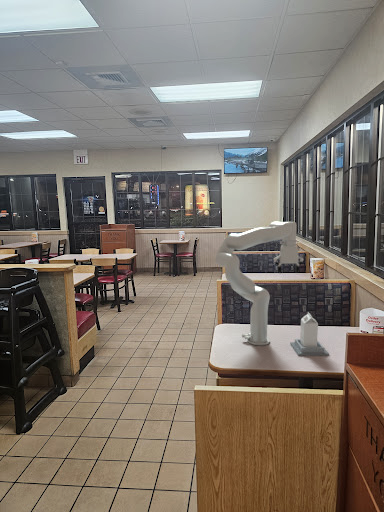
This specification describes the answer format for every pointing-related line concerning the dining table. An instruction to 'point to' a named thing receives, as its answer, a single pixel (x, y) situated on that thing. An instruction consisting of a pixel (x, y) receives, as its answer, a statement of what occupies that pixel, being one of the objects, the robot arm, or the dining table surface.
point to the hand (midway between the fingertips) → (288, 272)
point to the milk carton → (308, 331)
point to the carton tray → (308, 349)
